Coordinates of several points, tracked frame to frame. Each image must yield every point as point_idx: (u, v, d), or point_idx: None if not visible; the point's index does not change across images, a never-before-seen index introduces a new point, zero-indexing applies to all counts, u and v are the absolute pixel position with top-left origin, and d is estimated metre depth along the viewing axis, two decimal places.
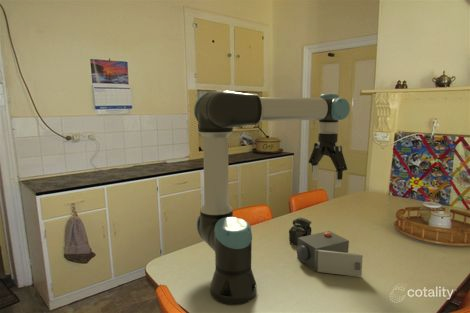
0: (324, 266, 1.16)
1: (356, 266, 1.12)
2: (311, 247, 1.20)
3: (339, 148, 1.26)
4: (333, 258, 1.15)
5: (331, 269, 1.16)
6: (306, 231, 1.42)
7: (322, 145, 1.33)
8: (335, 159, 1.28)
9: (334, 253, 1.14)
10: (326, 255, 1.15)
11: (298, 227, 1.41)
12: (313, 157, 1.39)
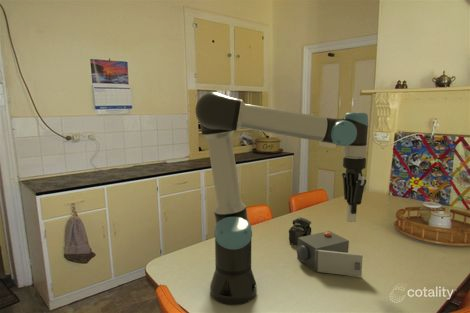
0: (324, 266, 1.16)
1: (356, 266, 1.12)
2: (311, 247, 1.20)
3: (362, 183, 1.08)
4: (333, 258, 1.15)
5: (331, 269, 1.16)
6: (306, 231, 1.42)
7: (347, 168, 1.16)
8: (354, 191, 1.13)
9: (334, 253, 1.14)
10: (326, 255, 1.15)
11: (298, 227, 1.41)
12: None
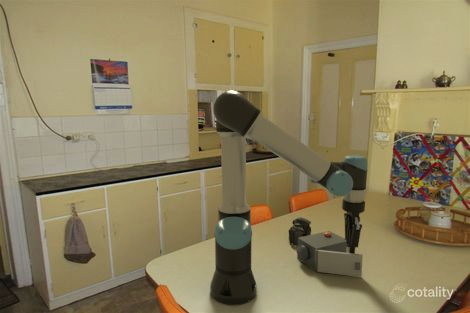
0: (324, 266, 1.16)
1: (356, 266, 1.12)
2: (311, 247, 1.20)
3: (357, 228, 1.08)
4: (333, 258, 1.15)
5: (331, 269, 1.16)
6: (306, 231, 1.42)
7: None
8: (352, 233, 1.13)
9: (334, 253, 1.14)
10: (326, 255, 1.15)
11: (298, 227, 1.41)
12: None
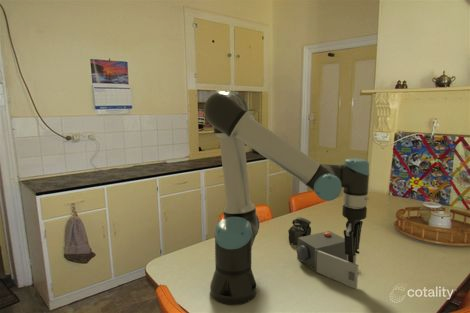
0: (322, 268, 1.15)
1: (349, 276, 1.06)
2: (311, 247, 1.20)
3: (347, 234, 1.03)
4: (330, 262, 1.12)
5: (328, 273, 1.13)
6: (305, 231, 1.43)
7: None
8: None
9: (331, 257, 1.12)
10: (324, 257, 1.14)
11: (297, 227, 1.41)
12: None
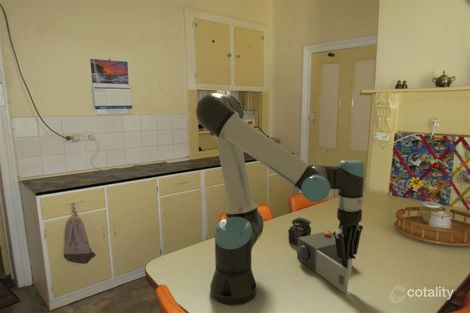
0: (320, 268, 1.14)
1: (339, 279, 1.04)
2: (311, 247, 1.20)
3: (336, 236, 1.01)
4: (326, 263, 1.11)
5: (324, 274, 1.12)
6: (305, 231, 1.43)
7: None
8: None
9: (326, 258, 1.11)
10: (321, 258, 1.13)
11: (297, 227, 1.41)
12: None
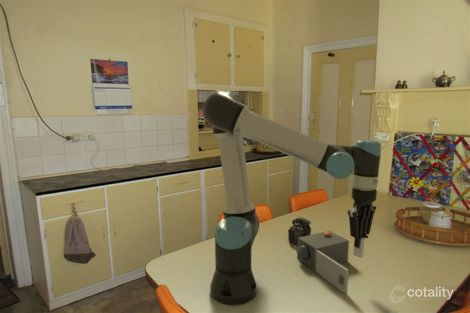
0: (320, 268, 1.14)
1: (339, 279, 1.04)
2: (311, 247, 1.20)
3: (351, 214, 1.03)
4: (326, 263, 1.11)
5: (324, 274, 1.12)
6: (305, 231, 1.43)
7: None
8: None
9: (326, 258, 1.11)
10: (321, 258, 1.13)
11: (297, 227, 1.41)
12: None
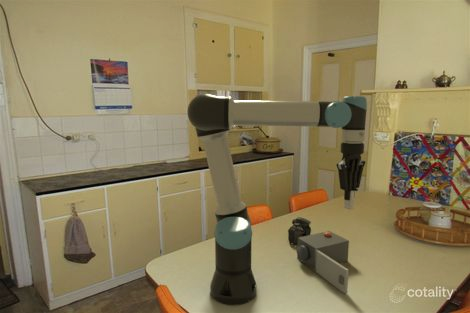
0: (320, 268, 1.14)
1: (339, 279, 1.04)
2: (311, 247, 1.20)
3: (339, 167, 1.08)
4: (326, 263, 1.11)
5: (324, 274, 1.12)
6: (305, 231, 1.43)
7: None
8: None
9: (326, 258, 1.11)
10: (321, 258, 1.13)
11: (297, 227, 1.42)
12: None
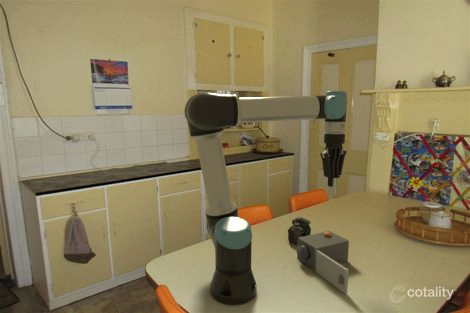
0: (320, 268, 1.14)
1: (339, 279, 1.04)
2: (311, 247, 1.20)
3: (323, 155, 1.18)
4: (326, 263, 1.11)
5: (324, 274, 1.12)
6: (305, 231, 1.43)
7: None
8: None
9: (326, 258, 1.11)
10: (321, 258, 1.13)
11: (297, 226, 1.42)
12: None
